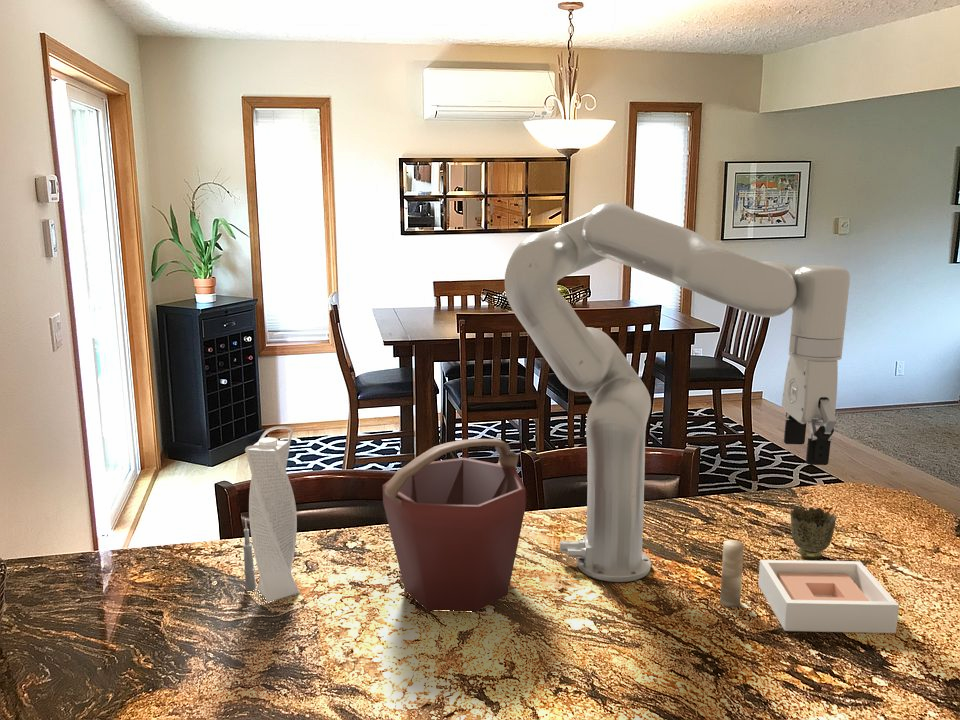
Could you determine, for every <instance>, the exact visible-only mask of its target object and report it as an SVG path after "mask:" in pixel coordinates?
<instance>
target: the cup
mask: <svg viewBox="0 0 960 720" xmlns="http://www.w3.org/2000/svg"><path fill="white" fill-rule="evenodd" d="M836 522H837V516H836V515H835V513H832V514H830V512H829V510H827V511H824V510H823V509H822V508H821V507H818V508H814V507H813V506H810V507H809V508H808V510H802V507H801V506H800V507H796V506H795V507H793V510H792V509H790V527H791V530H790V531H791V537H792V540H793V542H794V544H795V545H796V547H798V548H799V549H798V552H799V555H800V556H801V557H802V558H804V559H807V560H810V561H816V560H819V559H820V558H821V556H822V552H823V551H825V550H827V548H829V547H830V544H831V543H832V540H833V535H834V531H835V526H836Z"/></svg>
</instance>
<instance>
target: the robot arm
mask: <svg viewBox="0 0 960 720" xmlns="http://www.w3.org/2000/svg"><path fill="white" fill-rule="evenodd" d="M607 259H608V260H611V261H613V262H616V263H619V264H621V265H624V266H627V267H631V268H633V269H635V270H638V271H641V272H644V273H645V274H649V275H652V276H654V277H657V278H660V279H662V280H665V281H667V282H670V283H672V284H674V285H676V286H679V287H681V288H684V289H687V290H688V291H691V292H695V293H697V294H699V295H700V296H703V297H706V298H709V299H711V300H713V301H716V302H718V303H721V304H723V305H726V306H729V307H732V308H734V309H737V310H740V311H743V312H745V313H748V314H751V315H753V316H756V317H762V318H775V317H778V316H781V315H783V314H784V313H786V312H787V311H789V309H792V312H791V313H792V315H791V326H790V334H789V344H788V345H789V347H788V355H789V357H788V363H787V366H786V371H785V378H784V384H783V390H782V391H783V394H782V399H781V406H782V409H783V410H784V411H785V423H784V424H785V425H784V434H783V443H784V444H785V445H804V444H805V440H806V432H807V425H808V430H809V435H810V438H807V446H806V454H805V455H806V456H805V463H806V464H807V465H809V466H828V464H829V461H830V451H831V441H833V434H834V433H835V425H836V424H837V416H836V407H837V397H838V395H837V394H838V374H839V372H838V368H839V366H838V361H840V360H842V357H843V348H844V338H845V329H846V320H847V319H846V318H847V310H848V301H849V300H848V299H849V293H850V282H851V276H850V273H849V271H848V270H847V269H846V268H844V267H842V266H837V265H829V264H828V265H827V264H809V265H797V264H791V263H790V264H789V263H784V262H778V261H770V260H769V261H768V260H767V261H758V260H756V259H752V258H749V257H748V256H743V255H742V254H738V253H735V252H734V251H730V250H729V249H726V248H723V247H721V246H718V245H717V244H715V243H713V242H712V241H709V240H708V239H706V238H705V237H704V236H702V235H700V234H699V233H697V232H695V231H693V230H691V229H689V228H686V227H685V226H684V227H683V226H681V225H677V224H674V223H672V222H667V221H665V220H662V219H659V218H657V217H654V216H652V215H651V216H650V215H648V214H646V213H644V212H643V213H642V212H640V211H637V210H634V209H632V208H631V206H629V205H627V204H625V203H621V202H617V201H615V202H613V201H612V202H606V203H602V204H599V205H597V206H596V207H593V209H591V210H590V212H587V213H585V214H584V215H582V216H580V217H579V216H578V217H577V218H575V219H573V220H571V221H568V222H565V223H564V224H562V225H561V224H560V225H558V226H557V227H556V226H555V227H554V228H551V229H549V230H547V231H542V232H538V233H533V234H532V235H530V236H528V237H526V238H525V239H523V240H522V241H520V243H519V244H518V245H517V246H516V247H515V249H514V251H513V252H512V253H511V256H510V258H509V260H508V263H507V265H506V267H505V272H504V273H505V274H504V291H505V295H506V299H507V302H508V304H509V307H510V308H511V310H512V313H514V315H515V316H516V318H517V319H518V321H519V322H520V324H521V326H522V327H523V328H524V329H525V331H526V332H527V334H528V336H530V338H531V340H532V342H533V343H534V345H535V346H536V347H537V349H538V350H539V352H540V354H541V355H542V356H543V358H544V359H545V360H546V362H547V363H548V365H549V367H550V368H551V369H552V371H553V372H554V374H555V375H556V377H557V378H558V380H559V381H560V383H561V384H562V385H564V387H566V388H567V389H569V390H570V391H573V392H576V393H577V392H578V393H582V392H584V393H586V395H587V397H589V399H590V400H591V404H590V406H589V409H588V410H587V416H586V422H585V423H586V424H585V435H586V448H587V449H586V451H587V474H586V475H587V477H586V478H587V491H586V492H587V493H586V494H587V495H586V496H587V500H586V504H587V505H586V533H584V534H583V539H577V541H570V540H560V541H559V553H567V558H577V559H576V563H577V564H576V565H577V568H579V570H580V571H581V572H582V573H583V574H585V575H586V576H589V577H590V578H593V579H596V580H599V581H604V582H609V583H610V582H611V583H626V582H627V583H628V582H633V581H637V580H641V579H642V578H645V576H647V575H648V574H649V573H650V571H651V569H652V566H651V565H652V564H651V563H652V561H651V559H650V557H649V556H648V555H647V554H646V553H645V552H643V535H644V533H643V530H644V507H645V506H644V505H645V503H644V501H645V474H646V472H645V468H646V467H645V466H646V431H647V423H648V420H649V417H650V414H651V408H652V400H651V395H650V393H649V390H648V389H647V387H646V385H645V383H644V382H643V381H642V379H641V378H640V376H639V374H638V373H637V372H636V370H635V369H634V367H633V366H632V365H631V364H630V362H629V361H628V359H627V357H626V356H625V355H624V354H623V352H622V351H621V349H620V348H619V346H618V345H617V343H616V342H615V341H614V340H613V339H612V338H611V337H610V336H609V335H608V334H607V333H606V332H604V331H602V330H601V329H599V328H595V327H588V326H587V327H586V325H585V324H584V323H583V321H582V320H581V319H580V317H579V315H578V314H577V312H576V311H575V310H574V308H573V307H572V305H571V304H570V303H569V302H568V300H566V298H565V297H564V296H563V295H562V294H561V292H560V289H559V288H558V281H559V280H561V279H563V278H565V277H567V276H569V275H572V274H574V273H576V272H578V271H581V270H583V269H585V268H588V267H590V266H593V265H596V264H598V263H600V262H602V261H606V260H607ZM807 423H808V424H807ZM817 426H818V429H817Z"/></svg>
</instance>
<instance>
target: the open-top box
mask: <svg viewBox="0 0 960 720" xmlns="http://www.w3.org/2000/svg"><path fill="white" fill-rule="evenodd" d="M778 573H818V574H848V575H849V577H850V578H851V579H852V580H853V581H854V583H855V584H856V585H857V586H858V588H859V589H860V590H861V591H862V592H863V594H864V595H865V596H866V597H867V598H868V600H869V601H834V600H791V598H790V596H789V595H788V593H787V592H786V590H785V589H784V587H783V586H782V584H781V582H780V581H779V579H778V578H777V576H778ZM757 585H758V587H759V589H760V591H761V592H762V594H763V597H764V598H765V599H766V601H767V602H768V605H769V607H770V608H771V609H772V612H773V614H774V615H775V617H776V618H777V620H778V622H779V624H780V626H781V627H782V629H783V630H784V631H785V632H820V633H821V632H823V633H824V632H825V633H833V632H834V633H865V634H866V633H868V634H869V633H874V634H897V628H898V627H897V626H898V619H899V610H900V609H899V608H900V605H899V603H898V602H897V601H896V600H895V599H894V598H893V597H892V595H891V594H890V593H889V592H888V590H886V588H885V587H884V585H882V584H881V583H880V582H879V581H878V579H877V578H876V577H875V576H874V575H873V573H871V572H870V570H868V568H867V567H866V566H865V565H864V564H863V563H862V561H860V560H859V561H857V560H854V561H853V560H850V561H849V560H805V559H803V560H799V559H798V560H796V559H795V560H793V559H791V560H790V559H787V560H786V559H785V560H784V559H760V560H759V568H758V584H757ZM814 596H815V597H834V595H814Z"/></svg>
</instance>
